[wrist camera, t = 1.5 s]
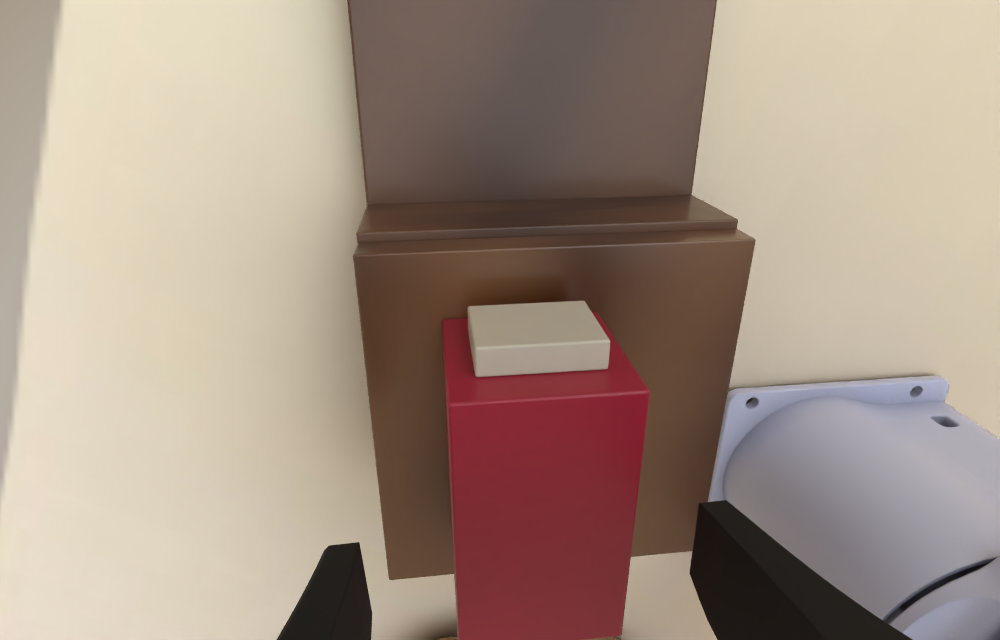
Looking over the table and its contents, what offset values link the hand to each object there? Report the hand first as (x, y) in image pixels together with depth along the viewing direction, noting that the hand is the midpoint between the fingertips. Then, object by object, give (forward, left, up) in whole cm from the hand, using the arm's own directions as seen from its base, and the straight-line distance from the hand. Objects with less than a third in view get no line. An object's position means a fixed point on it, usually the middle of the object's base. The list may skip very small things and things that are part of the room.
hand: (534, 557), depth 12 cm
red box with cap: (0, 0, -4) cm, 4 cm away
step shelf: (-1, -5, -10) cm, 11 cm away
